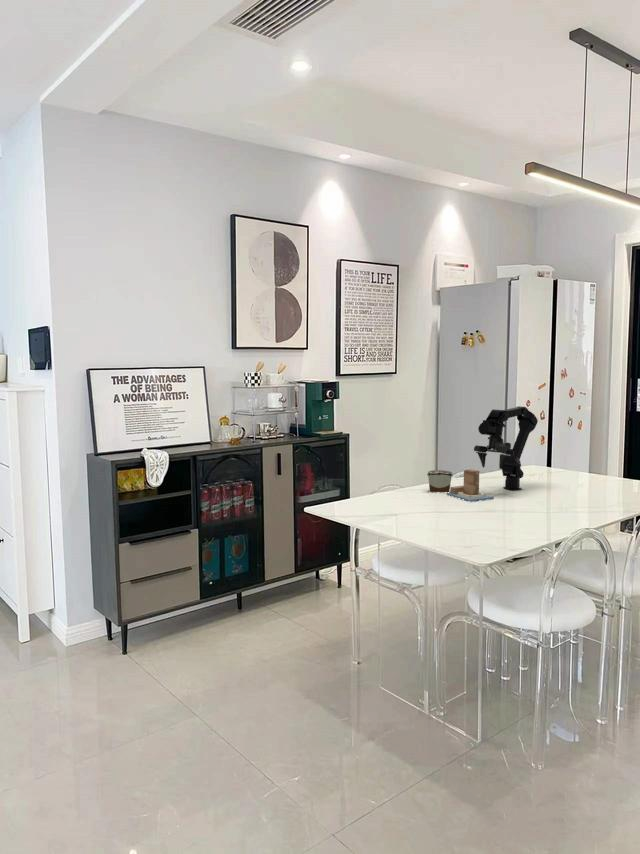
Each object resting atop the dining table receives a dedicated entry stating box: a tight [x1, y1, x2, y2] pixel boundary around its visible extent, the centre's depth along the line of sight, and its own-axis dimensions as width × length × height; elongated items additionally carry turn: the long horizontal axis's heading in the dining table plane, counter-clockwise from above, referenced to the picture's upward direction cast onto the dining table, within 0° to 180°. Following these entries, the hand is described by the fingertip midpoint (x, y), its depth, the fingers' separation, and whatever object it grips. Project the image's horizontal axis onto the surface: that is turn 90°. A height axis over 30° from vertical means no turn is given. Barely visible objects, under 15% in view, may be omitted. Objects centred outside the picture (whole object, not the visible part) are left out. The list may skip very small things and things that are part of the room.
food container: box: [427, 469, 453, 493], centre depth 334 cm, size 12×6×10 cm, turn 84°
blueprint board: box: [446, 485, 495, 502], centre depth 322 cm, size 14×17×4 cm
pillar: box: [463, 469, 480, 496], centre depth 319 cm, size 5×5×12 cm
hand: (491, 468), depth 328 cm, fingers open, 9 cm apart
